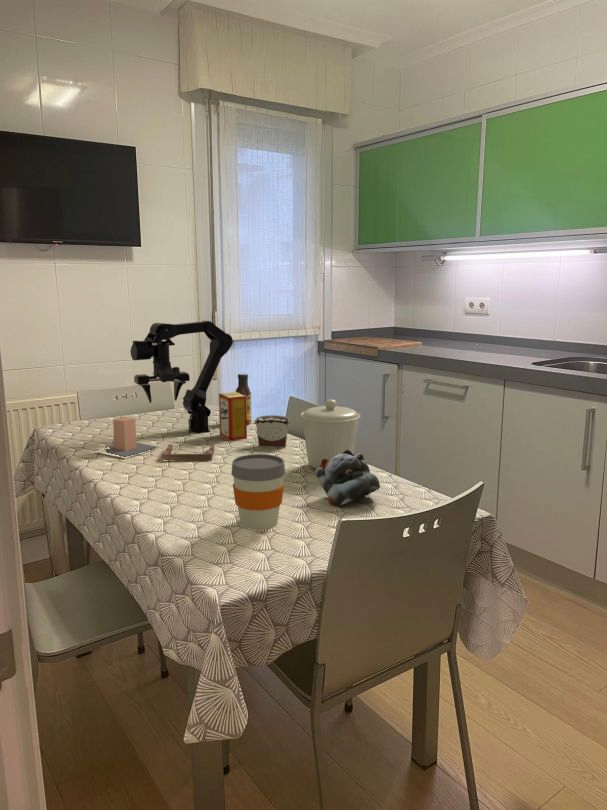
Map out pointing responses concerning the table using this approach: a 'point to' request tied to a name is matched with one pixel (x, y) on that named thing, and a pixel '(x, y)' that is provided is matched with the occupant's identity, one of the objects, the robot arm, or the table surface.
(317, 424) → the canister
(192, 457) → the walnut bay
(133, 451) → the rubber mat
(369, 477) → the grey stuffed animal
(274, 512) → the reusable coffee cup
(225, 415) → the baking soda box
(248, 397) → the sauce bottle
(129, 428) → the terracotta block
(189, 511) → the table surface
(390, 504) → the table surface
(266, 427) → the food container
